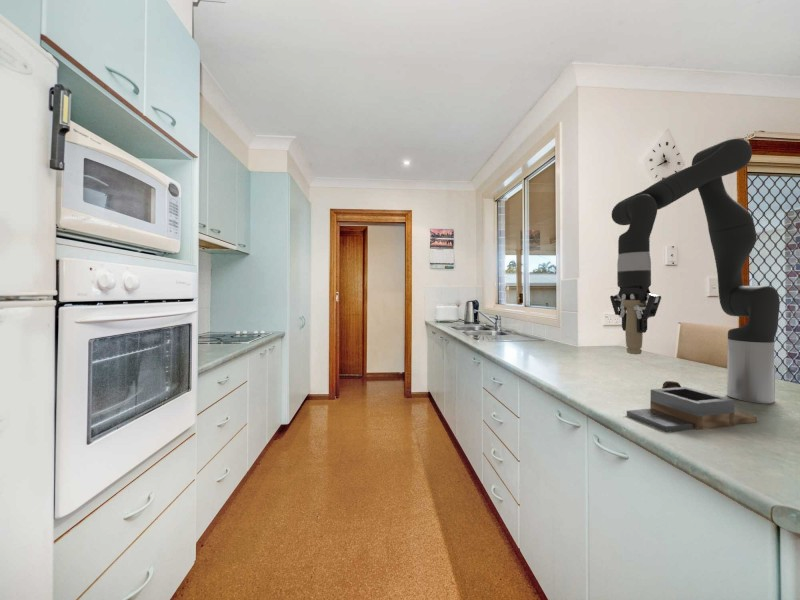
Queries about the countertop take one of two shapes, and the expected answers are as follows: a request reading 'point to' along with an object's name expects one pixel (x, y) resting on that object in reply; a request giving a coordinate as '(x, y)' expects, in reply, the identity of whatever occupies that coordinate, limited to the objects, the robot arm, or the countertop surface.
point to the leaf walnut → (707, 417)
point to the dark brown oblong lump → (671, 384)
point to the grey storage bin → (681, 407)
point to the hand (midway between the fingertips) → (634, 331)
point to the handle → (632, 327)
